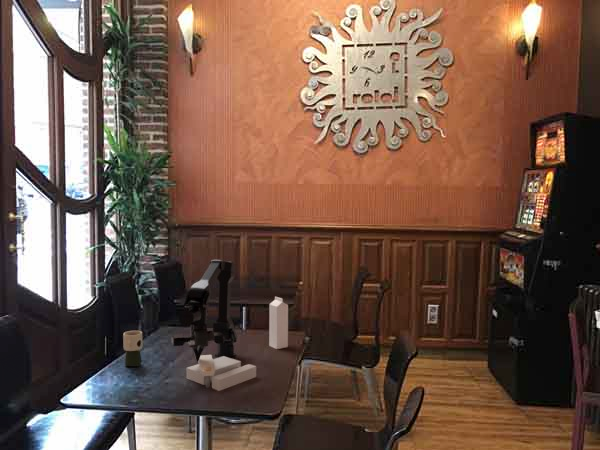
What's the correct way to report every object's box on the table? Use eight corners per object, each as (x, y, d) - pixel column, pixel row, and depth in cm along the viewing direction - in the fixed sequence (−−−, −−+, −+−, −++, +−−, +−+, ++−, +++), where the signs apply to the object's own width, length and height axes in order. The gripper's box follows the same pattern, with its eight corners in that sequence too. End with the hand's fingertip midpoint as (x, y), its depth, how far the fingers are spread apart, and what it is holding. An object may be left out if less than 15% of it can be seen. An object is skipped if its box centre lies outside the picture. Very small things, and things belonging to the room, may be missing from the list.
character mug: (139, 370, 201) (138, 336, 201) (120, 370, 201) (119, 337, 200) (145, 360, 212) (145, 329, 211) (127, 361, 212) (127, 329, 211)
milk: (276, 349, 229) (276, 299, 227) (269, 346, 233) (269, 297, 232) (288, 347, 232) (288, 297, 230) (280, 343, 237) (280, 295, 235)
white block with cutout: (184, 379, 193) (184, 367, 192) (223, 365, 207) (223, 355, 207) (217, 391, 181) (217, 379, 181) (256, 376, 195) (256, 365, 195)
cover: (200, 376, 183) (200, 369, 183) (198, 360, 200) (198, 354, 200) (215, 375, 184) (215, 368, 184) (211, 359, 202) (211, 353, 202)
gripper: (176, 327, 184) (174, 370, 184) (228, 324, 190) (227, 366, 191) (171, 319, 194) (170, 361, 195) (221, 317, 201) (220, 357, 202)
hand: (197, 361), depth 195 cm, fingers closed
